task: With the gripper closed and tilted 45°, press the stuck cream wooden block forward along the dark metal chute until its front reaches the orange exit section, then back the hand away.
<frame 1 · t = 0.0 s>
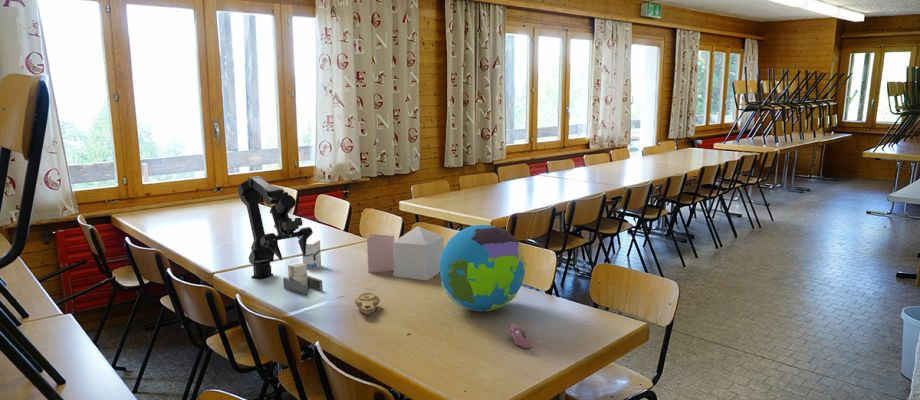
hand: (293, 257, 228), 15 cm above the table, tool tilted 35°, fingers open, 9 cm apart
globe: (482, 310, 215), on the table
block: (297, 275, 236), point 6 cm above the table, slide at 0.0 cm
greeting card: (380, 271, 261), on the table
oil lamp: (368, 311, 215), on the table
decorative block: (419, 273, 258), on the table
ink box: (312, 268, 266), on the table
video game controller: (519, 344, 187), on the table
chute: (303, 291, 235), on the table
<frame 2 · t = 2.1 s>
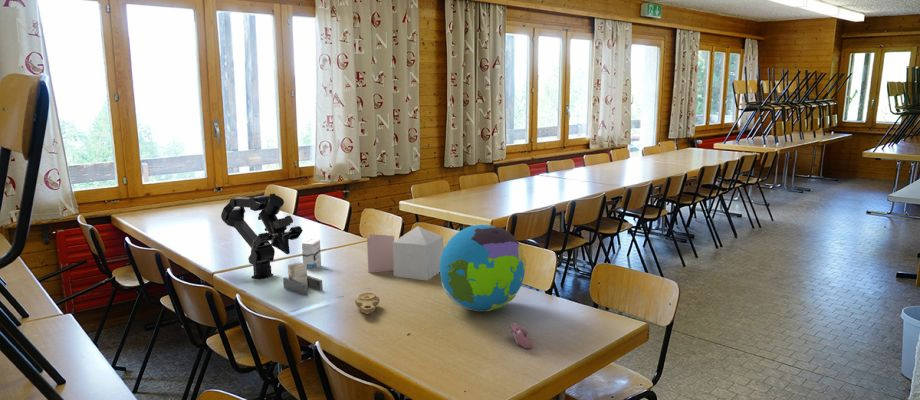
hand: (288, 253, 238), 13 cm above the table, tool tilted 45°, fingers closed
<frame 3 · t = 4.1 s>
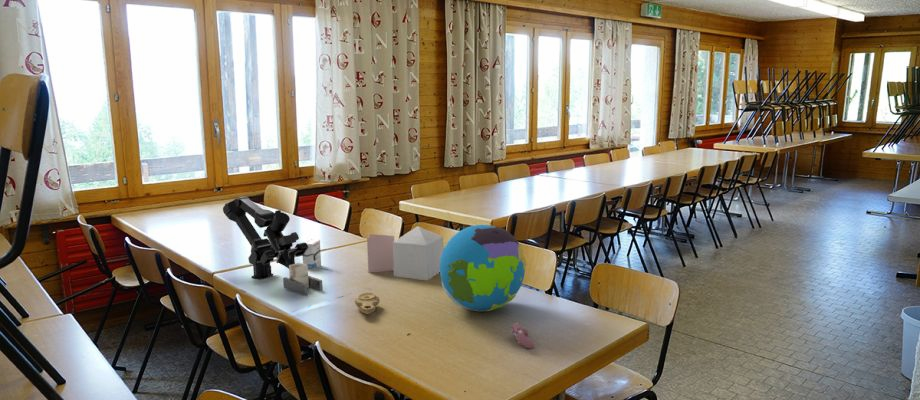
hand: (294, 270, 237), 7 cm above the table, tool tilted 45°, fingers closed, pressing on block
block: (298, 276, 236), point 6 cm above the table, slide at 0.7 cm, touching gripper
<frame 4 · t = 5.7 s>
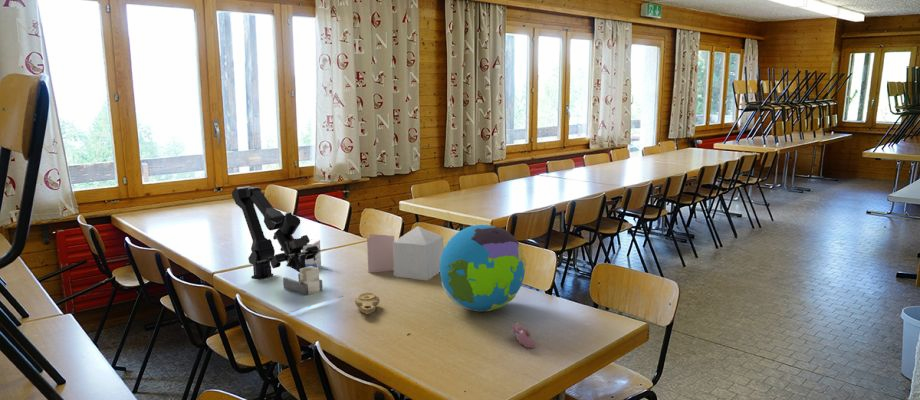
hand: (305, 274, 233), 7 cm above the table, tool tilted 45°, fingers closed, pressing on block
block: (309, 280, 231), point 6 cm above the table, slide at 7.8 cm, touching gripper
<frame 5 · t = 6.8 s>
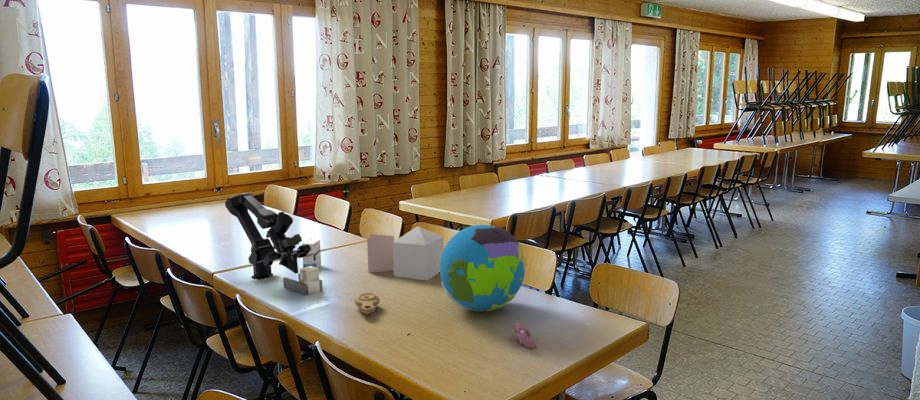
hand: (297, 272, 236), 7 cm above the table, tool tilted 45°, fingers closed
block: (309, 280, 231), point 6 cm above the table, slide at 7.8 cm
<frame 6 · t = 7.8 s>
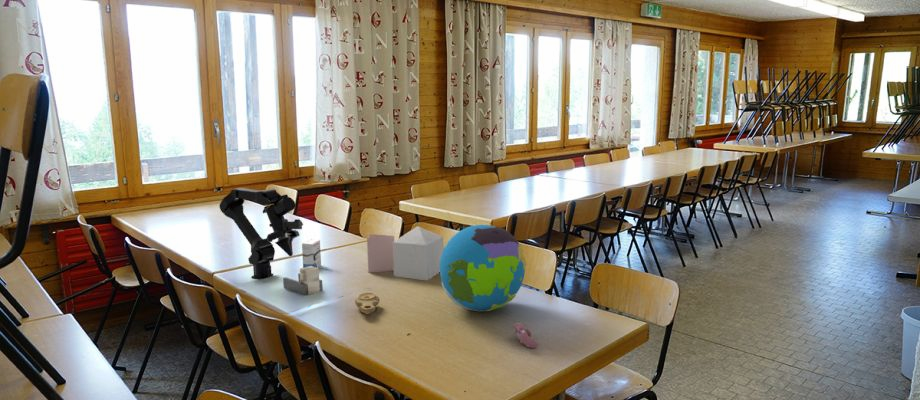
hand: (291, 255, 242), 12 cm above the table, tool tilted 25°, fingers closed
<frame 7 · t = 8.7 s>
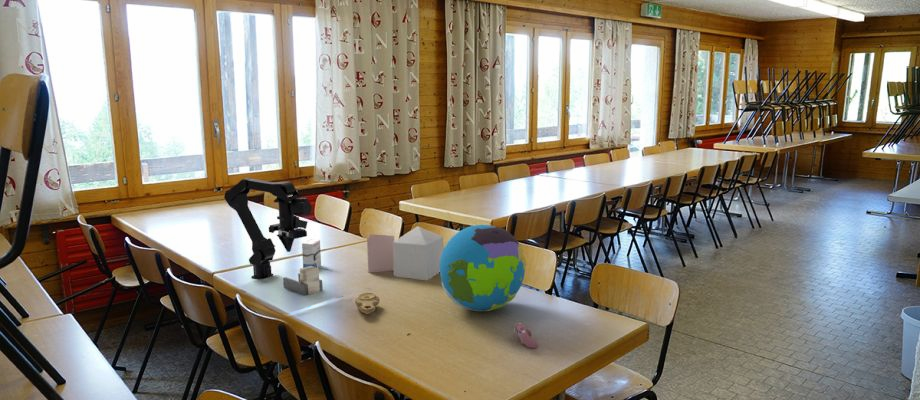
hand: (288, 251, 247), 12 cm above the table, tool pointing down, fingers closed
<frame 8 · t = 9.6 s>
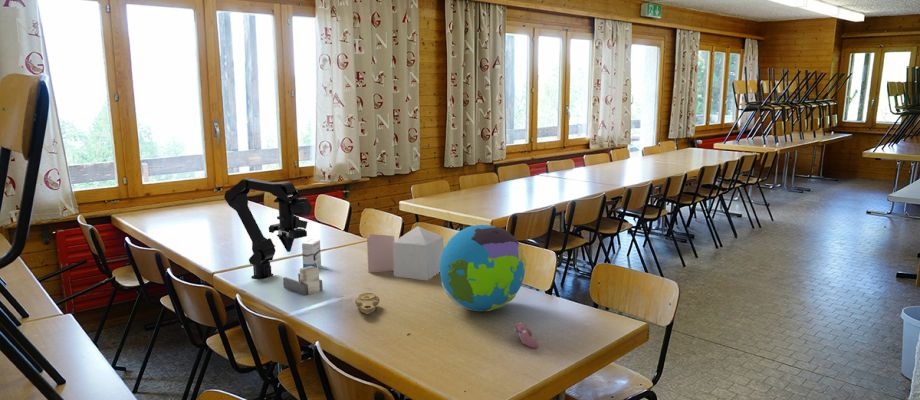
hand: (288, 251, 247), 12 cm above the table, tool pointing down, fingers closed
at the end: block slide at 7.8 cm; block moved 7.8 cm from its start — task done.
